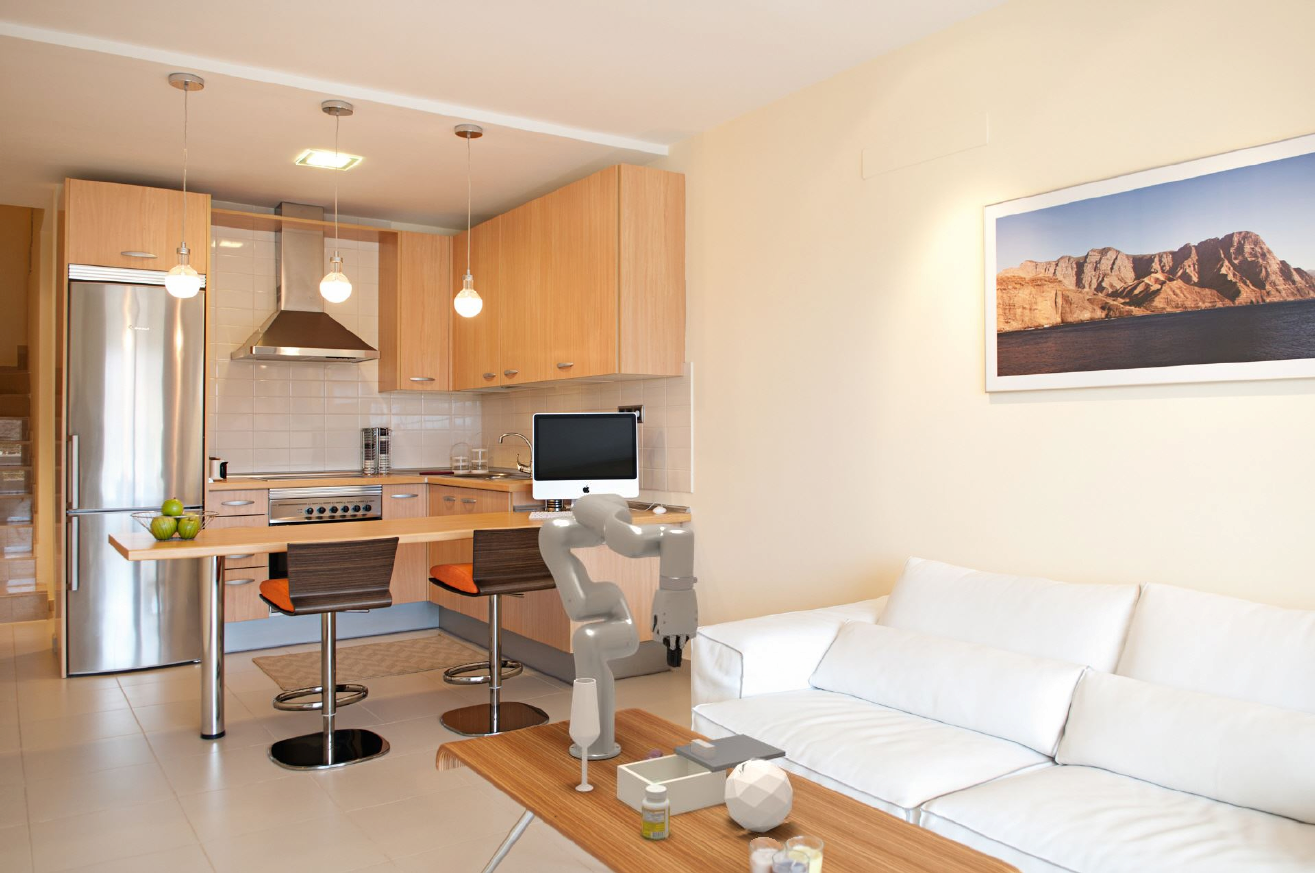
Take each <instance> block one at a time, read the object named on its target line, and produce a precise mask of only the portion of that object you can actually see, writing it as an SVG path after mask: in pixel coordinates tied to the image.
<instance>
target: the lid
mask: <svg viewBox="0 0 1315 873" xmlns="http://www.w3.org/2000/svg"><path fill="white" fill-rule="evenodd" d="M673 753H675V754H678V755H681V756H683V757H685V758H687V759H689V760H691V761H693V762H695V763H697V764H699V765H701V766H703V767H705V768H707V769H709V770H711V771H713V772H716V771H720V770H725V769H726V770H730V769H733V768H734V769H735V768H736V766H737V765H739V764H741V763H743V762H746V761H748V760H750V759H751V757H753V758H754V757H755V758H756V759H758V758H760V760H761V758H762V760H763V759H765V761H770V760H774V759H778V758H784V757H786V756H787V755H786V751H785V750H782V749H780V748H778V747H777V746H776V747H775V746H774V745H771V744H768V743H766V742H764V741H761V740H758V739H756V738H754V737H751V736H749V735H747V734H744V733H742V734H737V735H732V736H725V737H722V738H715V739H711V740H710V739H709V740H707V741H704V740H702V739H700V738H697V739H692V740H690V744H686V745H680V746H676V747H675V746H674V747H673Z"/></svg>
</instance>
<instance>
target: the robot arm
mask: <svg viewBox="0 0 1315 873" xmlns="http://www.w3.org/2000/svg"><path fill="white" fill-rule="evenodd" d="M571 513H572V515H561V516H560V515H559V516H555V517H552V518H549V519H546V520H545V521H544V522H543V523H542V525H541V527H540V528H539V532H538V546H539V552H540V554H541V557H542V559H543V562H544V563H545V565H546V566H547V569H548V570H549V571H550V573H551V576H552V577H553V580H554V583H555V586H556V589H557V591H558V593H559V597H560V600H561V602H562V605H563V608H564V611H565V613H566V615H567V617H568V618H569V619H570V620H571V621H572V622H575V623H586V622H590V623H586V624H583V625H581V626H579V627H578V628H576V630H575V631H574V632H573V634H572V637H571V648H572V653H573V659H574V666H575V680H576V679H581V678H590V679H594V680H596V689H597V700H598V712H599V723H600V734H599V736H598V738H597V739H596V740H595V741H594V742H593V743H592V744H591V745H590V746H589V747H587V760H589V761H590V760H594V761H596V760H606V759H611V758H614V757H617V756H618V755H619V754H621V751H622V749H621V748H622V747H621V745H620V744H619V743H617V742H615V724H616V723H615V721H616V720H615V714H616V713H615V704H616V703H615V702H616V701H615V699H616V698H615V697H616V696H615V693H616V692H615V690H616V688H615V677H614V674H613V672H612V670H611V669H610V667H609V665H608V663H607V662H609V661H611V660H617V659H623V658H628V657H630V656H633V655H634V654H636V652H638V649H639V646H640V634H639V633H640V632H639V629H638V627H637V624H636V622H635V618H634V616H633V614H632V611H631V609H630V608H631V607H630V606H629V604H628V601H627V598H626V596H625V594H624V592H623V590H622V589H621V588H620V587H619V585H618V584H616V583H614V582H612V581H597V582H596V581H595V582H594V581H592V580H591V578H590V576H589V573H588V570H587V567H586V566H585V564H584V563H583V561H582V560H580V559H579V557H577V556H576V555H575V554H574V553H573V552H571V551H570V550H571V549H582V548H583V549H587V548H595V547H596V548H597V547H598V546H601V545H603V544H606V545H607V547H608V549H609V550H611V551H612V552H615V553H617V554H619V555H621V556H623V557H626V558H628V559H629V558H630V559H644V558H659V576H658V578H659V584H658V589H655V591H654V595H653V599H652V603H651V604H652V606H651V614H650V631H651V633H653V635H652V640H653V642H656V643H662V644H663V645H664V647H665V648H666V663H667V666H669V667H671V668H674V669H675V668H681V665H682V661H683V649H684V648H685V645H686V644H687V643H688V642H689V640H692V639H695V638H697V631H698V629H699V628H698V627H699V609H698V608H699V607H698V598H697V593H696V589H695V588H694V585H695V584H697V583H698V578H697V576H695V574H694V565H695V563H694V562H695V561H694V560H695V559H694V558H695V555H694V554H695V533H694V531H693V529H691V528H689V527H688V528H687V527H681V526H680V527H679V526H675V525H672V524H669V523H664V522H663V523H647V524H646V523H645V524H633V517H632V515H633V514H631V511H630V507H629V503H628V502H627V500H626V499H625V498H624V497H623V496H622V495H619V494H616V493H595V494H594V493H592V494H591V493H590V494H586V495H582V496H581V497H579V498H577V500H575V502H574V503H573V505H572V509H571ZM601 620H602V621H601ZM592 621H593V622H592ZM595 621H596V622H595ZM569 754H570V755H571V756H573V757H575V758H577V759H580V760H582V747H580V746H579V745H578V744H576V743H575V742H574V743H573V744H571V745H570V746H569Z"/></svg>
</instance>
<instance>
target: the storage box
mask: <svg viewBox="0 0 1315 873" xmlns="http://www.w3.org/2000/svg"><path fill="white" fill-rule="evenodd" d="M616 774H617V776H616V780H617V781H616V784H617V785H616V787H617V788H616V799H617V800H619V801H621V802H623V804H625V805H627V806H629V807H630V808H632V809H634V810H635V811H637V812H638V813H640V814H641V815H642V801H643V800H644V799H645V798H646V795H645V791H646V787H647V786H650V785H661V786H664V787H666V789H667V795H666V798H667V799H668V800H669V802H670V817H671V816H676V815H681V814H684V813H688V812H692V811H696V810H700V809H705V808H709V807H713V806H717V805H722V804H726V802H725V799H724V798H725V786H726V779H727V769H725V770H720V771H716V772H713V771H711V770H709V769H707V768H705V767H703V766H701V765H699V764H697V763H695V762H693V761H691V760H689V759H687V758H685V757H683V756H681V755H678V754H676V753H675V754H669V755H664V756H662V757H659V758H654V759H649V760H644V761H642V760H640V761H634V762H630V763H626V764H620V765H617V767H616ZM655 780H660V781H661V782H658V783H653V782H651V781H655Z"/></svg>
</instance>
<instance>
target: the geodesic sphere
mask: <svg viewBox="0 0 1315 873" xmlns="http://www.w3.org/2000/svg"><path fill="white" fill-rule="evenodd" d="M793 796H794V790H793V788H792V784H791V782H790V780H789V777H788V775H787V773H786V771H784V770H783V769H781V768H780V767H778V766H777V765H776V764H775V763H773V762H772V761H770V760H766V761H765V759H763V760H762V758H761V760H760V758H758V759H756V758H755V757H754V758H753V757H751V759H750V760H748V761H746V762H743V763H741V764H739V765H737V766H736V767H734V769H733V770H732V771H731V773H730V774H729V775H728V776H727V777H726V786H725V798H724V799H725V802H726V803H725V805H726V807H727V810H728V813H729V816H730V818H731V819H732V820H734V821H735V822H736V823H737V824H738V825H740V826H741V827H742V828H744V829H745V830H749V831H754V832H758V833H764V834H765V833H766V832H768V831H770V830H772V829H774V828H776V827H778V826H780V825H781V824H782V822H784V821H785V819H786V818H787V817H788V815H789V814H790V813H791V811H792V809H793V808H792V807H793Z"/></svg>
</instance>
